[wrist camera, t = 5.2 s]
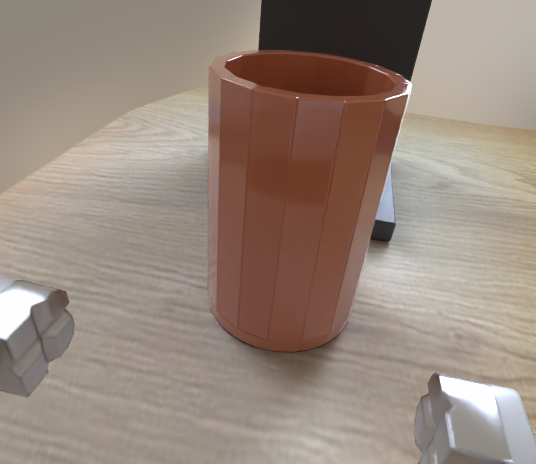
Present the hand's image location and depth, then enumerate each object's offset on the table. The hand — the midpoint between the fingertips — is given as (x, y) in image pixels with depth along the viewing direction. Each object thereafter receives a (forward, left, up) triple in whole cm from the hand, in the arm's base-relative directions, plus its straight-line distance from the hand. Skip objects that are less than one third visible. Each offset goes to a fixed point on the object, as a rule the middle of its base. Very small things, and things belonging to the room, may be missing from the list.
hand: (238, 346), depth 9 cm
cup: (-1, +8, -5) cm, 9 cm away
